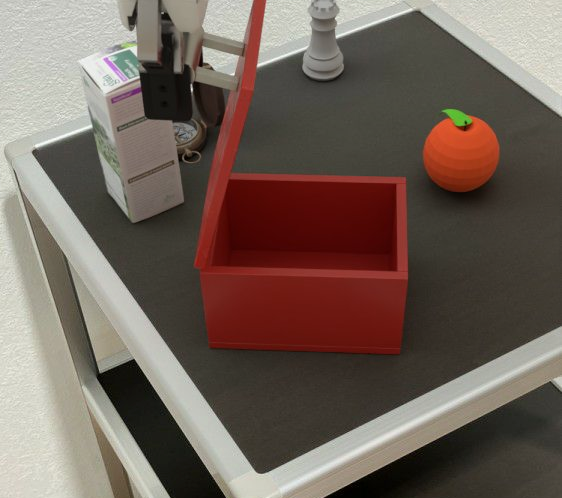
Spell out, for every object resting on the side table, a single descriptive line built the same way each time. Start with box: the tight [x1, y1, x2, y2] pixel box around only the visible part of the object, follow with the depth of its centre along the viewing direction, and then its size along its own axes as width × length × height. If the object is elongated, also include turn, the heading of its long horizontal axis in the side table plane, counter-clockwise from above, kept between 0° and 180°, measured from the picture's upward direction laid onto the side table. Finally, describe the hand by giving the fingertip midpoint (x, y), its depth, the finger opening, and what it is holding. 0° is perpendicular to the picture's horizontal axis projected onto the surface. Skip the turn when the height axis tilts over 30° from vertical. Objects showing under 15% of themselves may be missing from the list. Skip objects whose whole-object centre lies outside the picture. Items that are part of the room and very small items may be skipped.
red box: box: [199, 172, 409, 355], centre depth 79 cm, size 16×12×9 cm
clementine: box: [422, 108, 500, 193], centre depth 89 cm, size 8×7×7 cm
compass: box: [172, 61, 226, 165], centre depth 93 cm, size 8×8×7 cm
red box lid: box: [183, 0, 267, 270], centre depth 69 cm, size 16×12×5 cm
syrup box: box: [77, 40, 185, 224], centre depth 86 cm, size 6×6×14 cm
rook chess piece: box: [301, 0, 345, 82], centre depth 100 cm, size 4×4×8 cm
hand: (175, 89), depth 67 cm, fingers closed on red box lid, 5 cm apart
